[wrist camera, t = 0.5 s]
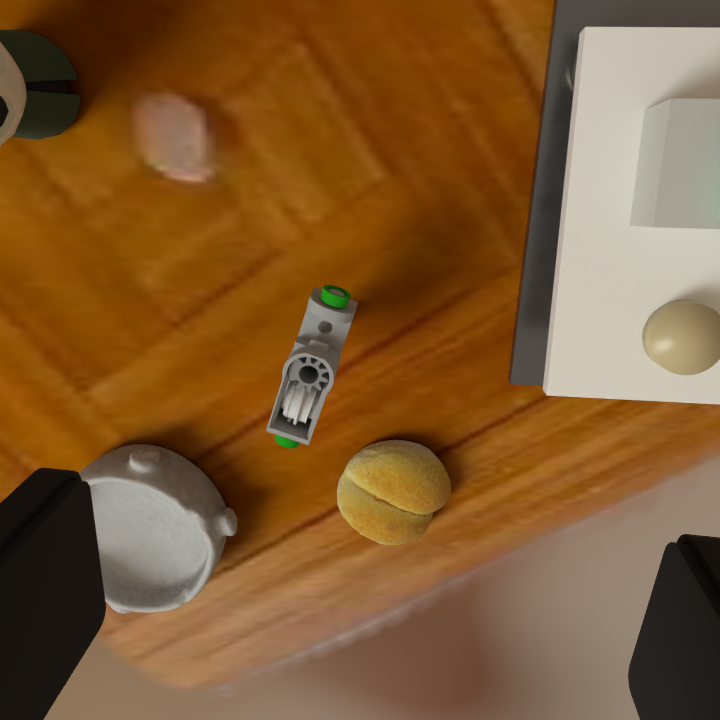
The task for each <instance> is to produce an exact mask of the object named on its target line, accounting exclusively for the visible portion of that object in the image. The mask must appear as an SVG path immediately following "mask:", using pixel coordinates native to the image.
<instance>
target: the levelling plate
mask: <svg viewBox="0 0 720 720" xmlns="http://www.w3.org/2000/svg"><path fill="white" fill-rule="evenodd" d="M543 391H544V392H545V394H546V395H550V396H570V397H589V398H608V399H627V400H646V401H665V402H685V403H704V404H720V28H698V27H585V28H584V29H583V30H582V31H581V32H580V35H579V44H578V54H577V64H576V73H575V83H574V92H573V102H572V112H571V121H570V131H569V141H568V150H567V160H566V170H565V179H564V189H563V199H562V208H561V218H560V228H559V237H558V247H557V257H556V266H555V276H554V285H553V295H552V305H551V314H550V324H549V334H548V343H547V353H546V363H545V372H544V382H543Z"/></svg>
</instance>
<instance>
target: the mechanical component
mask: <svg viewBox="0 0 720 720" xmlns="http://www.w3.org/2000/svg"><path fill="white" fill-rule="evenodd" d="M350 296H351V295H350V293H349V292H348V291H346V290H344V289H342V288H340V287H337V286H333V285H325V286H324V287H323V290H322V289H319V288H316V287H315V288H314V290H313V292H312V293H311V295H310V299H309V302H308V305H307V310H306V313H305V316H304V319H303V323H302V326H301V329H300V332H299V335H298V338H297V340H296V342H295V345H294V347H293V349H292V351H291V353H290V355H289V357H288V359H287V361H286V363H285V365H284V368H283V371H282V378H283V379H282V382H281V385H280V389H279V392H278V395H277V398H276V401H275V404H274V408H273V411H272V414H271V417H270V420H269V423H268V427H267V430H266V431H268V432H271V433H274V434H275V441H276V442H277V443H278V444H279V445H281V446H283V447H286V448H296V447H297V446H298V445H299V443H303V444H306V445H309V442H310V439H311V437H312V434H313V431H314V428H315V425H316V423H317V420H318V417H319V414H320V411H321V408H322V406H323V403H324V400H325V397H326V394H327V393H328V392H329V391H330V389H331V388H332V385H333V382H334V379H335V375H336V372H337V369H338V365H339V362H340V354H341V351H342V348H343V345H344V342H345V339H346V336H347V334H348V331H349V328H350V325H351V322H352V320H353V317H354V314H355V312H356V308H357V305H358V302H356V301H353V300H350Z"/></svg>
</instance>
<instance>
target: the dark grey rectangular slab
mask: <svg viewBox="0 0 720 720" xmlns="http://www.w3.org/2000/svg"><path fill="white" fill-rule="evenodd" d="M585 27H698V28H720V0H555V1H554V9H553V17H552V25H551V34H550V42H549V50H548V58H547V66H546V75H545V83H544V91H543V99H542V107H541V115H540V124H539V132H538V140H537V148H536V156H535V164H534V173H533V181H532V189H531V197H530V205H529V214H528V222H527V230H526V238H525V246H524V254H523V263H522V271H521V279H520V287H519V295H518V304H517V312H516V320H515V328H514V336H513V344H512V353H511V361H510V369H509V377H508V378H509V382H510V384H521V385H541V386H543V382H544V372H545V363H546V353H547V343H548V334H549V324H550V314H551V305H552V295H553V285H554V276H555V266H556V257H557V247H558V237H559V228H560V218H561V208H562V199H563V189H564V179H565V170H566V160H567V150H568V141H569V131H570V121H571V112H572V102H573V92H574V83H575V73H576V64H577V54H578V44H579V35H580V32H581V31H582V30H583V29H584V28H585Z"/></svg>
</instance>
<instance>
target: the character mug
mask: <svg viewBox="0 0 720 720" xmlns="http://www.w3.org/2000/svg"><path fill="white" fill-rule="evenodd" d="M64 80H77V73H76V72H75V70H74V68H73V67H72V65H71V63H70V62H69V60H68V58H67V57H66V55H65V53H64V52H63V51H62V50H61V49H59V48H58V47H57V46H56V45H54V44H53V43H52V42H51V41H49V40H48V39H47V38H46V37H45V36H42V35H38V34H34V33H30V32H26V31H22V30H0V146H1V145H2V144H3V143H4V142H5V141H6V140H8V139H9V138H10V137H17V138H27V139H42V138H46V137H51V136H55V135H60V134H61V133H62V132H63V131H64V130H65V129H66V128H67V127H68V126H69V125H70V124H71V123H72V122H73V121H75V118H76V114H77V111H78V108H79V105H80V101H81V100H80V95H74V94H66V90H67V86H66V84H65V81H64Z"/></svg>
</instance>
